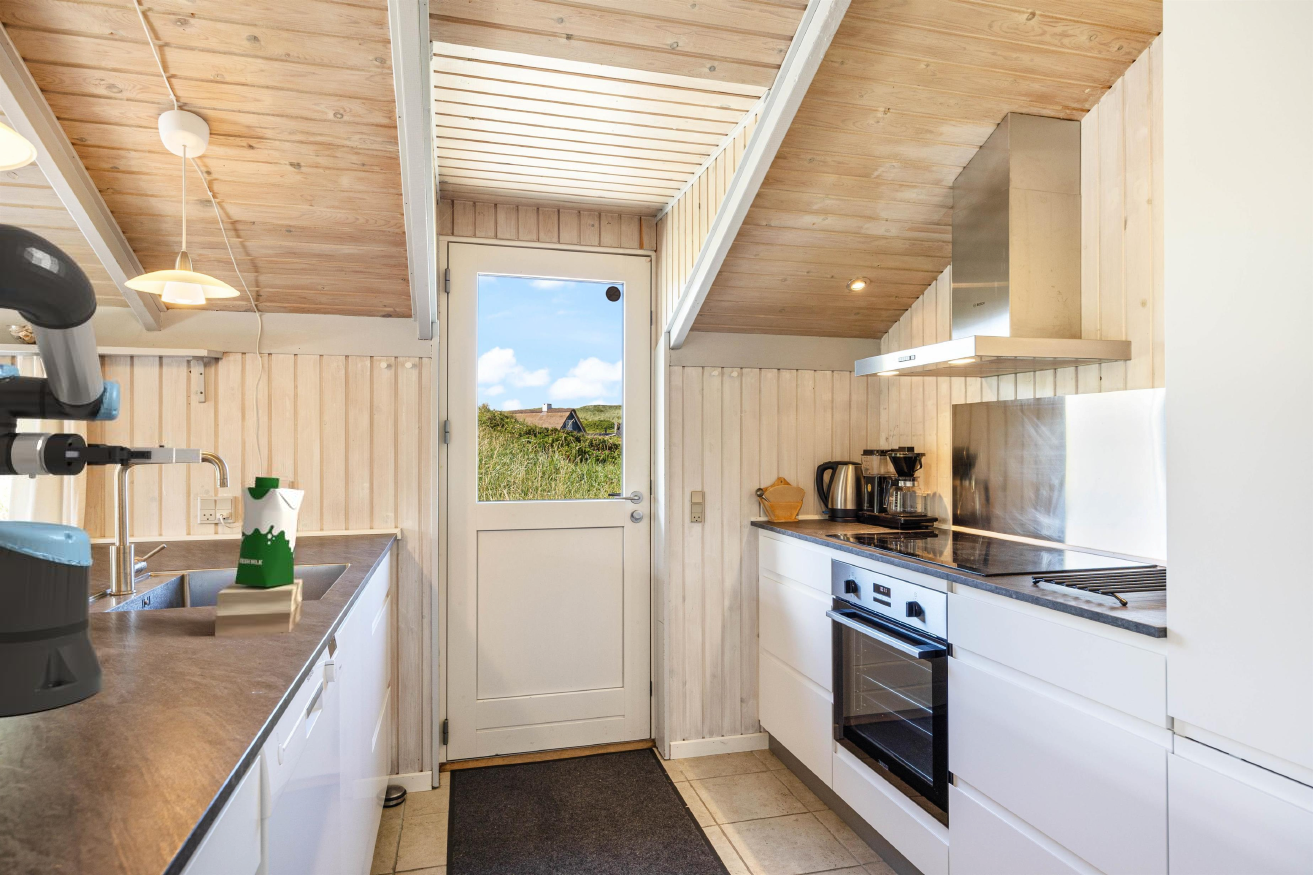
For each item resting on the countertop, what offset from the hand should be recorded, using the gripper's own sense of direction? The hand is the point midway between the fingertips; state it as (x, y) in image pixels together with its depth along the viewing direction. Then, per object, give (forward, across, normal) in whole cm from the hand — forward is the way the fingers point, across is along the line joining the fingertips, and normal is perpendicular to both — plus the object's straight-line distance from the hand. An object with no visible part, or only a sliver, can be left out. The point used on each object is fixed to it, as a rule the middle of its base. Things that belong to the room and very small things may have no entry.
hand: (188, 455), depth 135 cm
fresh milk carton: (+14, 0, -24) cm, 28 cm away
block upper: (+13, 0, -28) cm, 31 cm away
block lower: (+13, 0, -32) cm, 35 cm away
